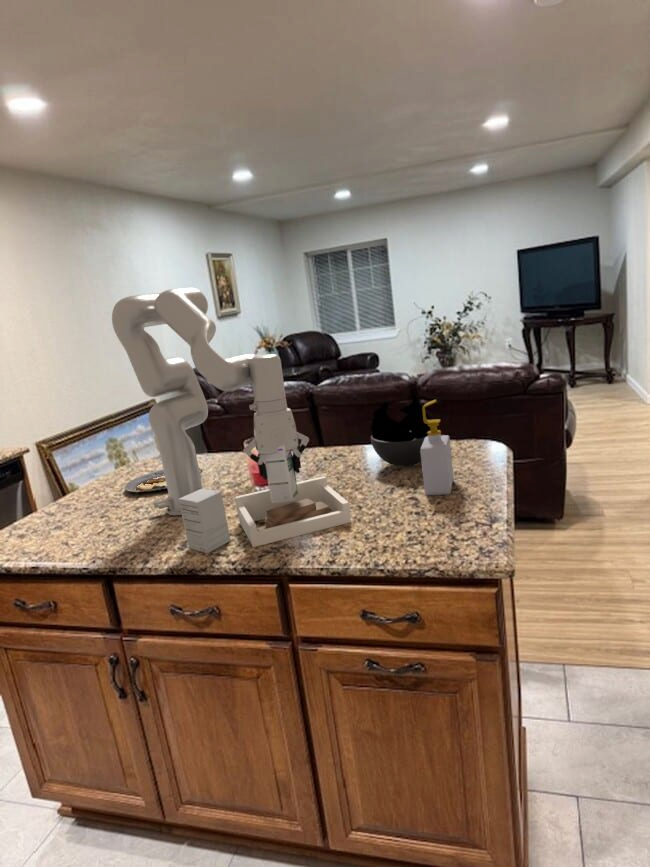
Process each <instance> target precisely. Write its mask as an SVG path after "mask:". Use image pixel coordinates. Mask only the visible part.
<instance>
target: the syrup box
mask: <svg viewBox="0 0 650 867" xmlns="http://www.w3.org/2000/svg"><path fill="white" fill-rule="evenodd" d="M292 456H293V452H292V451H291V450H290V451H286V450H285V446H284V445H283V446H279V447H278V452H277V453H275V454H270V455H266V457H265V459H264V464H265V465H266V472H267V484H268V489H269V491H270V497H271V502H272V503H288V502H293V501H294V499H295V498H296V497H297V495H298V489H297V478H296V472H295V471H294V464H293V458H292Z"/></svg>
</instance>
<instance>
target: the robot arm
mask: <svg viewBox="0 0 650 867" xmlns="http://www.w3.org/2000/svg"><path fill="white" fill-rule="evenodd" d="M208 309H209V304H208V300H207V298H206V296H205V294H204V293H203V292H202V291H200V290H199V289H198V288H195V287H182V288H181V287H180V288H171V289H166V290H164V291H162V292H156V293H148V294H146V293H145V294H136V295H129V296H126V297H124V298H121V299H119V300H118V301H117V302H116V303H115V305H114V306H113V309H112V313H111V322H112V328H113V331H114V333H115V334H116V337H117V339H118V341H119V342H120V344H121V345H122V347H123V348H124V351H125V352H126V355H127V356H128V359H129V362H130V365H131V367H132V368H133V371H134V374H135V376H136V379H137V381H138V383H139V385H140V387H141V389H142V392H143V393H144V394H145V395H146V396H148V397H150V398H156V397H158V398H159V397H161V396H166V395H169V394H172V393H173V394H174V396H172V397H169V398H166V399H163V400H160V401H159V402H157V403H155V404H154V405H153V406H151V408H150V410H149V412H148V423H149V426H150V427H151V430H152V432H153V435H154V438H155V440H156V443H157V447H158V452H159V455H160V460H161V465H162V470H164V475H165V480H166V484H167V488H166V489H167V493H168V494H167V497H165V498H164V499H162V500H155V501H153V502H152V503H153V507H154V509H159V510H160V509H165V508H166V509H165V510H166V512H165V513H166V514H167V513H168V514H171V515H182V514H181V509H180V505H179V500H178V499H179V498H182V497H184V496H186V495H189V494H191V493H193V492H195V491H198V490H200V489H204V487H203V483H202V479H201V478H202V477H201V474H200V472H199V468H200V467H199V463H198V458H197V457H198V456H197V453H196V448H195V447H196V446H195V444H194V441H193V440H192V439H191V437H190V436H189V435H188V433H187V432H186V431H187V430H188V429H190V428H193V427H196V426H199V425H201V424H202V423H204V422H205V421H206V420H207V418H208V415H209V414H208V413H209V408H208V407H209V406H208V403H207V400H206V398H205V395H204V392H203V390H202V387H201V385H200V382H199V380H198V377H197V375H196V372H195V371H194V369H193V367H192V366H191V364H190V363H189V362H188V361H187V360H185V359H184V358H182V357H176V356H175V357H169V358H165V357H164V355H163V353H162V351H161V348H160V346H159V344H158V342H157V341H156V340H155V338H154V337H153V336H152V335H151V334H150V333H148V332H147V331H146V330H145V328H148V327H155V326H161V325H167V326H168V327H169V328H170V329H171V330H172V331H173V332H175V333H176V334H177V335H178V336H179V337H180V338H181V339H182V340H183V341H184V342H185V343H186V344H187V345H188V346H189V347H190V355H191V356H190V357H191V360H192V362H193V365H194V367H195V368H196V370H197V372H199V374H200V375H201V376H202V377H203V378H204V379H205V380H207V381H208V382H209V383H210V384H211V385H213V387H215V388H217V390H221V391H225V392H226V391H227V392H229V391H232V390H236V389H238V388H242V387H246V386H249V385H252V391H253V398H254V402H253V403H252V404H249V405H248V406H249V409H250V411H254V413H253V414H254V415H253V437H254V438H253V439H252V440H251V441H250V442H249V443H248V444H247V445H246V446H245V447H244V448H243V449H242V452H244V453H245V455H246V456H248V457H249V459H251V460H252V461H254V462H255V463H257V466H258V472H259V473H258V474H259V476H260V477H262V479H263V480H265V481H266V480H267V481H268V479H267V472H266V465H265V462H264V459H265V457H266V455H270V454H275V453H277V452H278V447H279V446H283V445H284V446H285V450H286V451H290V450H291V452H292V458H293V464H294V471H295V474H296V473H297V474H300V472H301V471H300V469H302V466H301V456H302V453H303V452H304V451H305V449H306V446H308V443H309V442H310V438H309V437H308V436H306V435H304V434H303V433H300V432H299V431H297V426H296V422H295V419H294V415H293V412H292V409H291V408H289V407H288V404H287V398H286V389H285V384H284V383H285V382H284V375H283V368H282V359H281V358H280V356H279V355H278V354H275V353H274V354H273V353H266V354H252V353H246V354H245V353H244V354H241V355H235V356H230V357H227V358H223V357H222V356H220V354H218V353H217V352H216V351H215V350H214V349H213V347H211V345H210V343H211V341H212V340H213V339H214V337H215V334H216V332H217V325H216V323H215V322H214V321H213V320H212V319H211V318H210V317H209V316H208V315H207V313H208ZM299 440H301V442H300V443H299ZM254 448H255V449H256V450H257V452H258V453H257V455H256V454H254V453H253V452H252V450H253V449H254ZM168 514H167V515H168Z"/></svg>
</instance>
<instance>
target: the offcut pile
mask: <svg viewBox="0 0 650 867" xmlns="http://www.w3.org/2000/svg"><path fill="white" fill-rule="evenodd" d="M266 512H267V517H266V518H265V519H264V523H265V525H263V526H260V527H256V528H257V531H259V530H263V529H267V528H271V527H275V526H279V525H283V524H287V523H291V522H295V521H299V520H303V519H308V518H312V517H316V516H320V515H324V514H328V513H332V512H333V511H331V510H330V507H329V506H328V505H326V504H324V503H323V502H321V501H320V502H316V503H315V502H313V501H311V500H310V499H308V498H307V499H304V500H300V501H297V502H294V503H290V504H287V505H283V506H280V507H277V508H273V509H270V510H266Z"/></svg>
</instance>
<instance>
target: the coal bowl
mask: <svg viewBox="0 0 650 867" xmlns="http://www.w3.org/2000/svg"><path fill="white" fill-rule="evenodd" d="M388 407H389V404H388V403H383V404H381V405H380V407H379V408H378V409H376V410H374V412H373V414H372V416H373V417H374V418H373V419H372V422H371V427H370V429H371V435H370V443H371V445H372V448H373V450H374V452H375V453H376V454H377V455H378V457H380V458H381V459H382V460H383V461H384V462H386V463H388V464H390V465H391V466H395V467H401V468H408V467H413V466H416V465H419V464H422V461H421V452H420V450H421V446H422V444H423V441H424V439H425V437H428V433H427V432H428V431H431V429H430V427H429V426H428V424H425V423H424V421H423V411H422V409H423V406H422V404H421V403H419V402H413V403H410V404H408V405H405V406H404V407H403V408H401V409H399V412H402V413H404V414H406V416H405V417H403V418H402V419H401V420H400V421H396V420H394V419H393V418H390V416H389V414H388V413H387V410H388ZM425 415H426V419H427V420H432V418H431V417H430V416H429V415H428V413H427V412H425Z"/></svg>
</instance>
